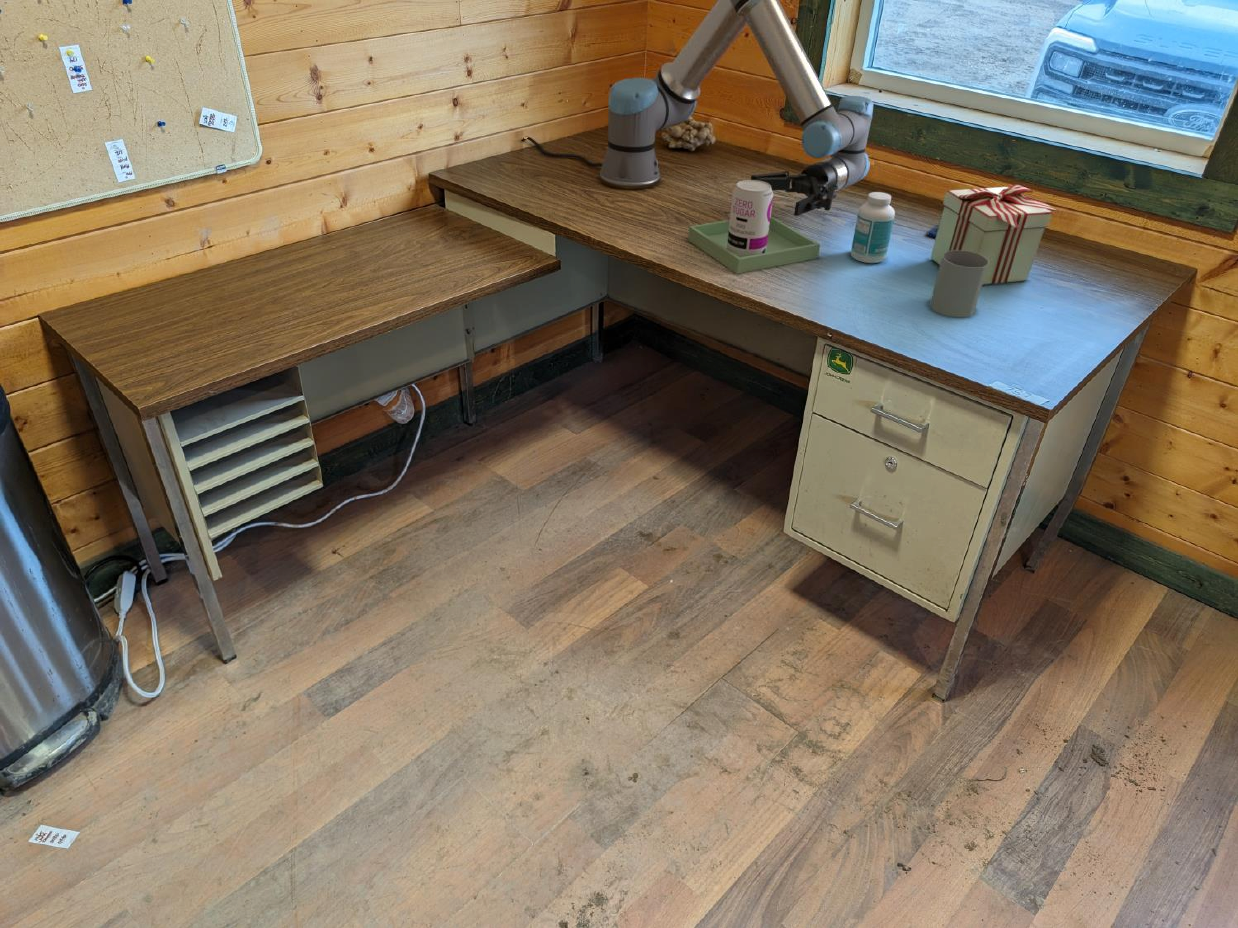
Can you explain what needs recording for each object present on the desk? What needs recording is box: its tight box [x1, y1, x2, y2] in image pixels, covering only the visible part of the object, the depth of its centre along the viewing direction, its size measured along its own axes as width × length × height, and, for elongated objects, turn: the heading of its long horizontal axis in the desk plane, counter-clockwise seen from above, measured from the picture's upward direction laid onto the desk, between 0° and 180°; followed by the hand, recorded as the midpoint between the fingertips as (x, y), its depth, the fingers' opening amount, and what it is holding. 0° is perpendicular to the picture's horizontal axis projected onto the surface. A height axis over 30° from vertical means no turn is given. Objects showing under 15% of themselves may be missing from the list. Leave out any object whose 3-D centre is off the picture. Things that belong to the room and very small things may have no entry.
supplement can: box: [727, 179, 774, 257], centre depth 182 cm, size 8×8×15 cm
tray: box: [687, 215, 821, 274], centre depth 190 cm, size 20×21×3 cm
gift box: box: [930, 184, 1059, 286], centre depth 180 cm, size 17×18×17 cm
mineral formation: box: [661, 115, 717, 152], centre depth 248 cm, size 8×13×15 cm
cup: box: [929, 250, 989, 319], centre depth 168 cm, size 8×8×10 cm
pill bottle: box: [850, 191, 896, 264], centre depth 185 cm, size 8×7×14 cm
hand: (768, 201), depth 185 cm, fingers open, 13 cm apart
